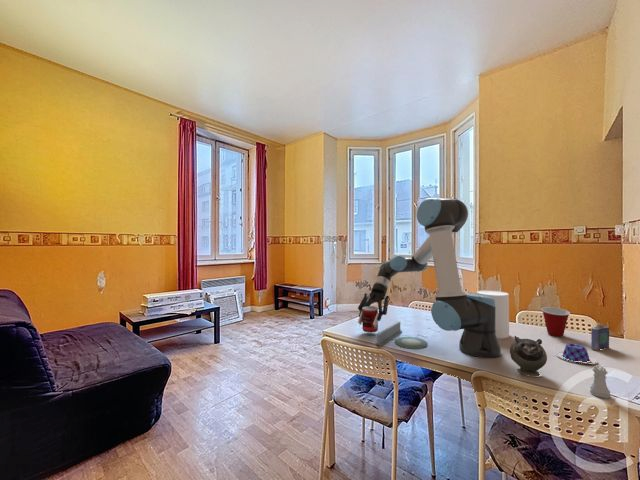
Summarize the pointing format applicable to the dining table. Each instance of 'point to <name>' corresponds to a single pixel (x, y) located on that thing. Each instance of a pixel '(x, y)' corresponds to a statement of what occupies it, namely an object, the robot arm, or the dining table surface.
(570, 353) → the checkered hat
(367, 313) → the canned food
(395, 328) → the plastic divider
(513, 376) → the dining table surface
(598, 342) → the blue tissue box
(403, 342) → the resting mat
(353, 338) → the dining table surface
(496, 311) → the canister
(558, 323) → the plastic cup
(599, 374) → the rook chess piece
